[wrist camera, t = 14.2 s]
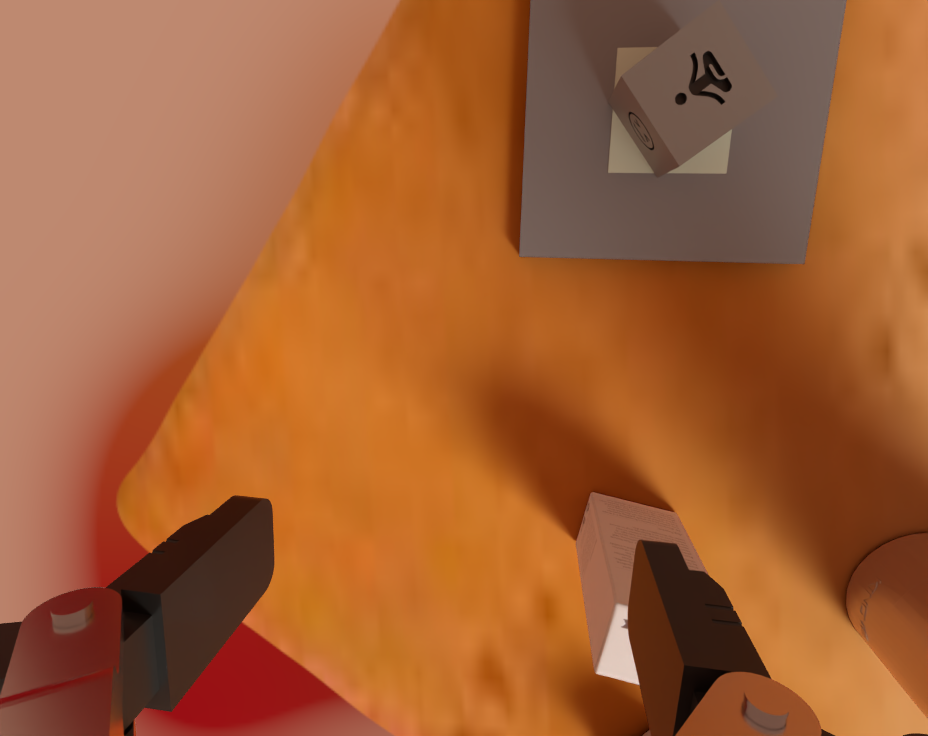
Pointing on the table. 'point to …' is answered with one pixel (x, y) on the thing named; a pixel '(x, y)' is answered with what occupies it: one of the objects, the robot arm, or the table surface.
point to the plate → (697, 180)
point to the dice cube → (690, 91)
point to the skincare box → (619, 572)
